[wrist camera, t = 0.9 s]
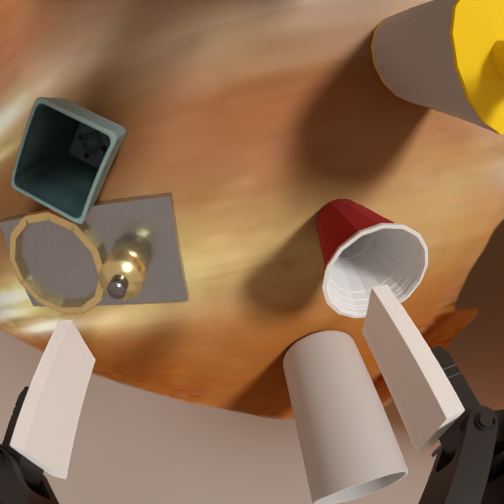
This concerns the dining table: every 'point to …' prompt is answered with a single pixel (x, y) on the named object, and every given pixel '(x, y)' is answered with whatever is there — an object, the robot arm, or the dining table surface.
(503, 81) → the soap bottle
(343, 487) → the cylinder vase
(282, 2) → the dining table surface
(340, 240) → the plastic cup
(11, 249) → the board
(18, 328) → the dining table surface
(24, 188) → the flower pot
